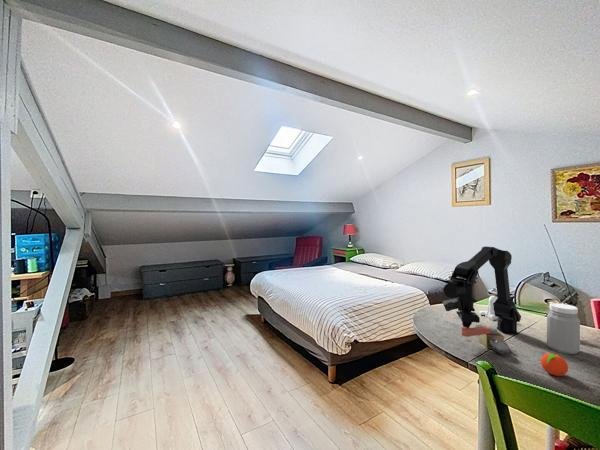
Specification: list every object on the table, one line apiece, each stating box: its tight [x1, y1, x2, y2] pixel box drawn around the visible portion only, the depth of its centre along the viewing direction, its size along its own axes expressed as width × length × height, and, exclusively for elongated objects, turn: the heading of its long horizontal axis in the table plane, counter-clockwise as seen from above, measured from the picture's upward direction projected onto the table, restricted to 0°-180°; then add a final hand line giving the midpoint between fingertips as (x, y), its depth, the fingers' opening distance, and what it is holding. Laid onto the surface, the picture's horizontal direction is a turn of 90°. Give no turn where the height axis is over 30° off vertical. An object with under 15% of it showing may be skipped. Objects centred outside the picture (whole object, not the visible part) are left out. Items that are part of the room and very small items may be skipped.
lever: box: [461, 325, 498, 337], centre depth 113 cm, size 16×4×3 cm, turn 103°
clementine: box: [540, 352, 569, 377], centre depth 93 cm, size 8×7×7 cm
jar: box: [546, 302, 581, 355], centre depth 110 cm, size 10×10×18 cm
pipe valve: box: [475, 324, 511, 356], centre depth 114 cm, size 20×6×6 cm, turn 170°
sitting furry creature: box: [478, 295, 499, 321], centre depth 147 cm, size 10×9×12 cm
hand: (465, 330), depth 115 cm, fingers closed
